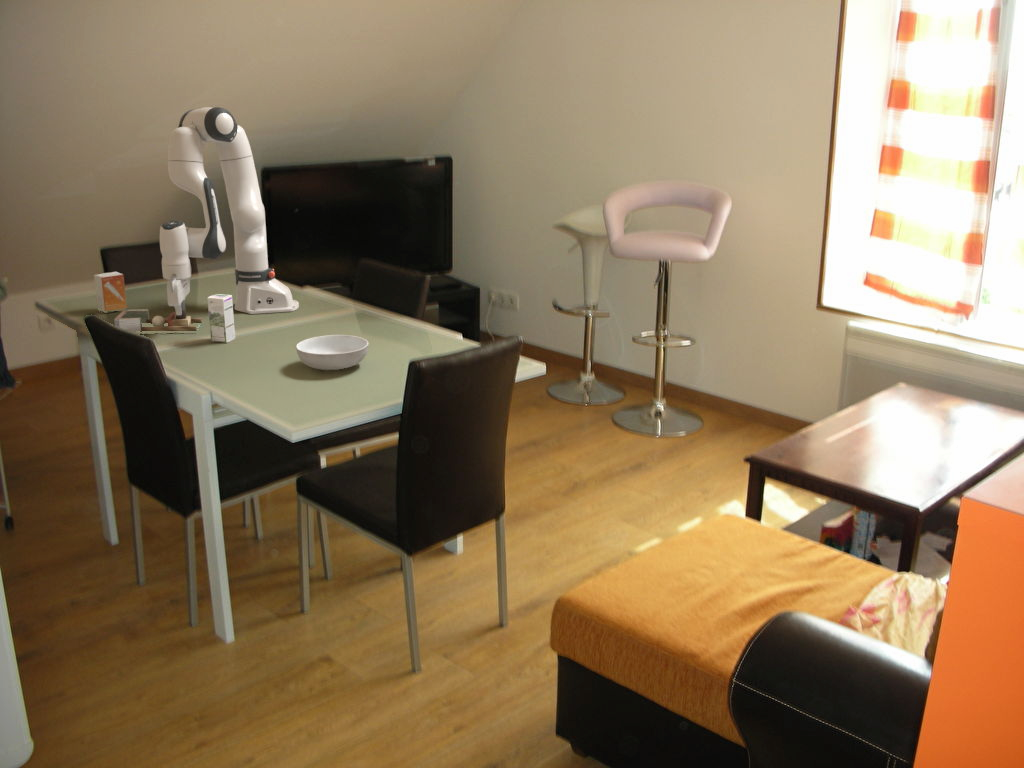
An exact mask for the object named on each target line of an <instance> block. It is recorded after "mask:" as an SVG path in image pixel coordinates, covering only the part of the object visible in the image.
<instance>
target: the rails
mask: <svg viewBox="0 0 1024 768" xmlns="http://www.w3.org/2000/svg"><path fill="white" fill-rule="evenodd" d="M190 318H191V324H193V323H202V322H203V318H202V317H190ZM152 319H153V318H149V319H148V320H146V323H151V324H152ZM164 320H165V323H167V318H164ZM202 324H203V323H202ZM142 331H197V326H160V327H142ZM197 332H198V331H197Z"/></svg>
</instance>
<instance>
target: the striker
mask: <svg viewBox="0 0 1024 768" xmlns="http://www.w3.org/2000/svg"><path fill="white" fill-rule="evenodd" d="M181 309H182V315H176V310H175V309H174V310H175V311H174V312H171V313H170V314H169V315H168V316H167V317H166V319H167V323H168V326H191V318H192V317H191V315H187V312H186V299H185V300H183V301H182V303H181Z"/></svg>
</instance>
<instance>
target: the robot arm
mask: <svg viewBox="0 0 1024 768" xmlns="http://www.w3.org/2000/svg"><path fill="white" fill-rule="evenodd" d="M179 120H180V121H179V124H178V126H177V128H174V129H173V130H172V131H171V133H170V135H169V141H168V149H167V150H168V151H167V170H168V171H167V173H168V176H169V179H170V180H171V182H172V183H173V184H174V185H175V186H176V187H178V188H179V189H181V190H182V191H183V190H184V191H185V192H188V193H190V194H192V195H193V196H195V197H197V198H198V199H199V200H200V202H201V205H202V210H203V215H204V216H203V217H204V222H205V228H204V227H203V228H202V227H198V228H197V227H188V226H186V224H185V223H184V221H182V220H173V219H172V220H168V221H165V222H163V223H162V224H161V225H160V227H159V248H160V254H161V256H162V257H161V269H162V270H161V271H162V277H163V279H164V280H167V284H166V296H167V305H168V306H169V307H174V310H176V312H175V315H182V309H181V303H182V301H183V300H185V301H186V298H187V296H188V295H189V293H190V291H191V277H192V266H191V260H190V258H201V259H202V258H203V259H207V260H217V259H219V258H220V257H221V256H222V255H223V254H225V252H226V248H227V241H226V236H225V234H224V233H225V232H224V229H223V225H222V220H221V215H220V213H221V212H220V209H219V208H220V207H219V203H218V196H217V193H216V192H217V191H216V188H215V184H214V183H213V181H212V180H211V179H210V178H209V177H208V176H207V174H206V171H205V168H204V154H203V153H204V152H203V150H204V148H205V145H206V143H213V144H214V145H215V146H216V149H217V153H218V159H219V162H220V168H221V171H222V176H223V181H224V186H225V192H226V197H227V201H228V207H229V210H230V211H229V212H230V216H231V221H232V224H233V240H234V244H233V245H234V258H235V270H234V280H235V281H234V282H235V284H236V297H235V304H234V306H233V310H235V311H238V312H242V313H246V314H250V315H257V314H271V313H273V314H274V313H286V312H294V311H296V310H298V309H299V307H300V303H299V301H298V300H296V299H293V294H292V292H291V290H290V287H288V286H287V285H285V284H284V283H282V282H281V281H280V280H278V279H276V272H275V269H274V268H271V267H269V260H268V257H269V255H268V243H267V226H266V210H265V206H264V203H263V201H262V196H261V190H260V185H259V180H258V175H257V169H256V167H255V166H256V165H255V161H254V156H253V152H252V149H251V148H252V147H251V145H250V141H249V139H248V135H247V134H246V131H245V129H244V128H243V127H242V126H241V125H239V124H237V122H236V119H235V117H234V116H233V114H232V113H231V112H230V111H229V110H228V109H226V108H223V107H218V106H215V107H211V106H209V107H208V106H207V107H201V108H196V109H189V110H188V111H186V112H184V113H183V114H182V116H181V117H180V119H179Z"/></svg>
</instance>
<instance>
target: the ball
mask: <svg viewBox="0 0 1024 768" xmlns="http://www.w3.org/2000/svg"><path fill="white" fill-rule="evenodd" d="M151 319H152V324H153V326H154V327H160V326H164V324H165V320H164V319H165V318H164V317H163V316H161V315H156V316H154V317H153V318H151Z"/></svg>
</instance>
